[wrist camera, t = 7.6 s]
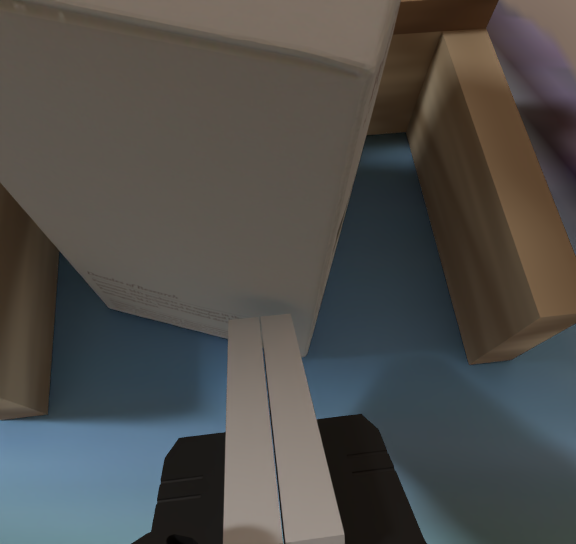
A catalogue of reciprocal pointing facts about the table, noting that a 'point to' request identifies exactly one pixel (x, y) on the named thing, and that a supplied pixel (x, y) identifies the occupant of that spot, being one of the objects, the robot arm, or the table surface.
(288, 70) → the supplement box
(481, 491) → the table surface
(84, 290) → the table surface
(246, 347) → the robot arm
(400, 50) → the brown wooden frame
